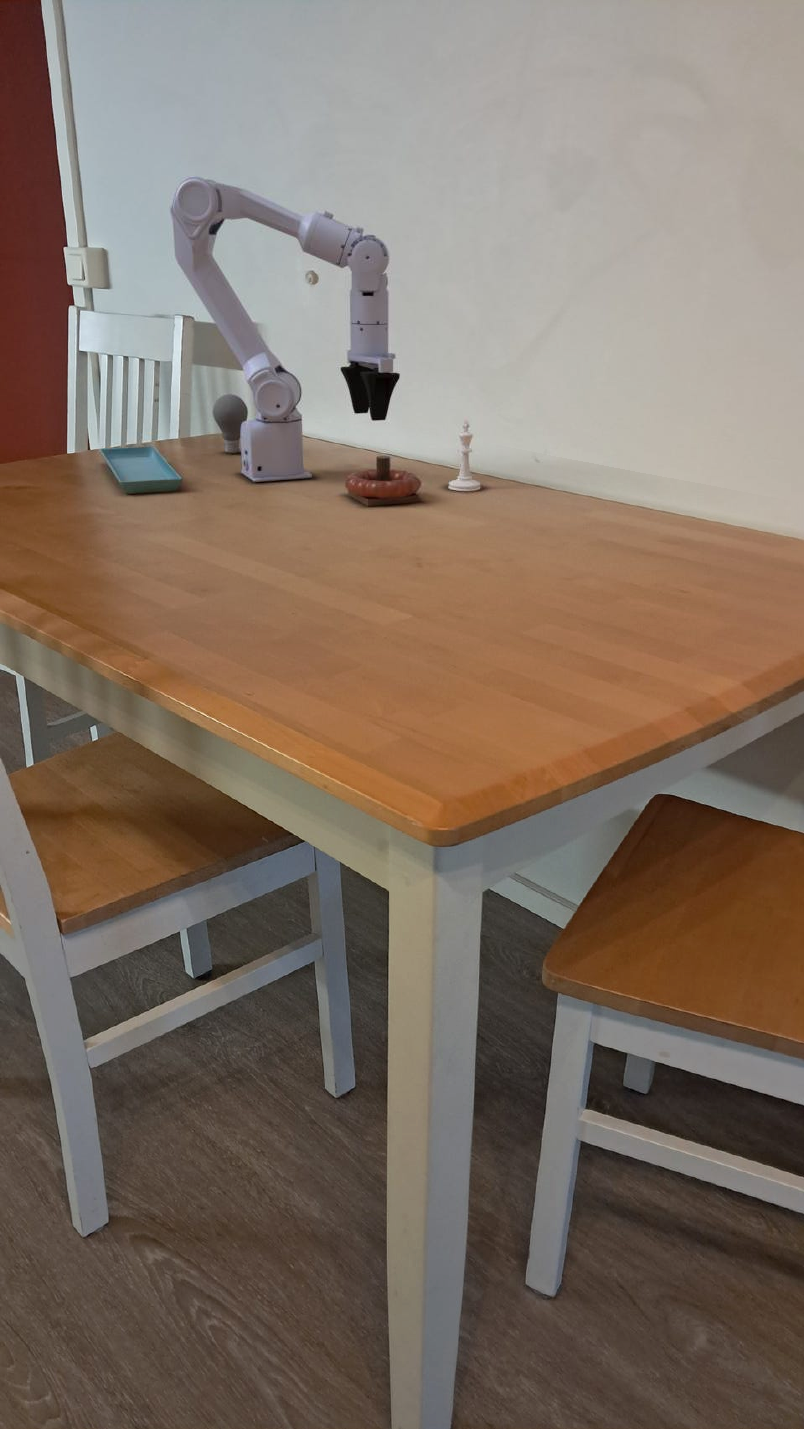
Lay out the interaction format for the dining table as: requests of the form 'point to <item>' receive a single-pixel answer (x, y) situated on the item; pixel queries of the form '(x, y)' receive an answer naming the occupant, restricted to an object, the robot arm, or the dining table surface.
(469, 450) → the chess piece
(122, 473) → the teal serving tray
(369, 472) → the ring
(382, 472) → the post
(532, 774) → the dining table surface
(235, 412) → the light bulb
